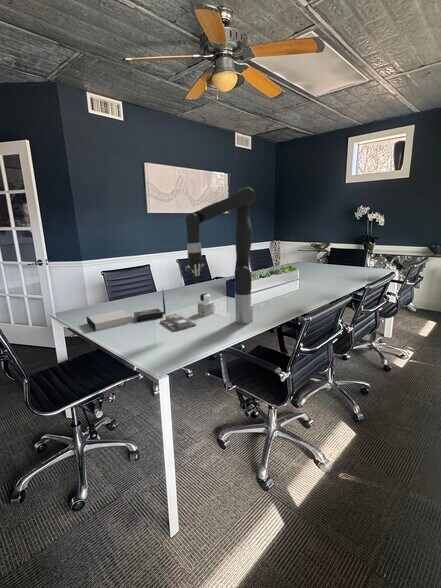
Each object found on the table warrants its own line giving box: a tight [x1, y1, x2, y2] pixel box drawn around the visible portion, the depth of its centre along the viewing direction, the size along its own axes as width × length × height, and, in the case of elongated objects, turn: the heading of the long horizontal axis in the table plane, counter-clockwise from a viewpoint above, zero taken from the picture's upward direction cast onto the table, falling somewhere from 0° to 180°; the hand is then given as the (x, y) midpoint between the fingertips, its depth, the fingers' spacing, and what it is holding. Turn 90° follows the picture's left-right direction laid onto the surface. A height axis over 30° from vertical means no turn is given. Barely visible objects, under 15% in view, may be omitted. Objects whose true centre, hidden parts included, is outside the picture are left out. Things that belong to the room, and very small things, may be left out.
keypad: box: [159, 313, 197, 332], centre depth 174 cm, size 14×19×4 cm
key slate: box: [172, 314, 183, 321], centre depth 174 cm, size 4×4×2 cm
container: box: [197, 293, 215, 317], centre depth 192 cm, size 8×8×13 cm
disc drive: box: [86, 309, 134, 332], centre depth 181 cm, size 18×22×5 cm
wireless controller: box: [133, 289, 166, 323], centre depth 188 cm, size 20×14×17 cm
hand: (196, 282), depth 164 cm, fingers closed
